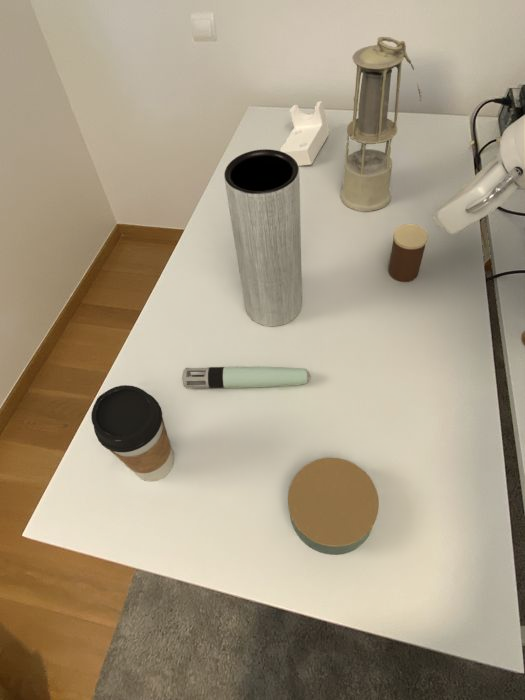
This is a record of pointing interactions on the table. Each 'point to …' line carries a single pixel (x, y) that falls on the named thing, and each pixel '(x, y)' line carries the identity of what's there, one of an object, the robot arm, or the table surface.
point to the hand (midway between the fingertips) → (457, 202)
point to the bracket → (306, 134)
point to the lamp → (372, 126)
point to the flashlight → (245, 377)
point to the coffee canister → (407, 252)
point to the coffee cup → (134, 431)
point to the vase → (267, 233)
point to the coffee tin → (332, 505)
